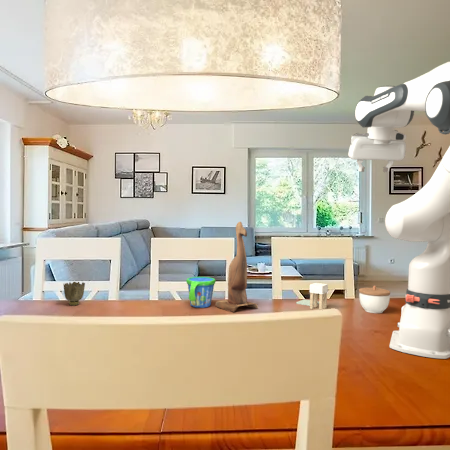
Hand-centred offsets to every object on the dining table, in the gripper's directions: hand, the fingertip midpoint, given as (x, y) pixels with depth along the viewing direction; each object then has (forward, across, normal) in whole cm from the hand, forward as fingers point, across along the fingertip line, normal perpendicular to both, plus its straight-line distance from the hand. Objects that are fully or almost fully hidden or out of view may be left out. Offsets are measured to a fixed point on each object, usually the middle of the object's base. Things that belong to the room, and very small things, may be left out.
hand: (373, 171), depth 156 cm
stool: (+49, -19, -14) cm, 54 cm away
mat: (+52, -20, -6) cm, 56 cm away
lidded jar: (+48, 0, -19) cm, 51 cm away
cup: (+50, -109, -6) cm, 120 cm away
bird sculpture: (+49, -50, -12) cm, 71 cm away
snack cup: (+50, -63, -9) cm, 81 cm away
